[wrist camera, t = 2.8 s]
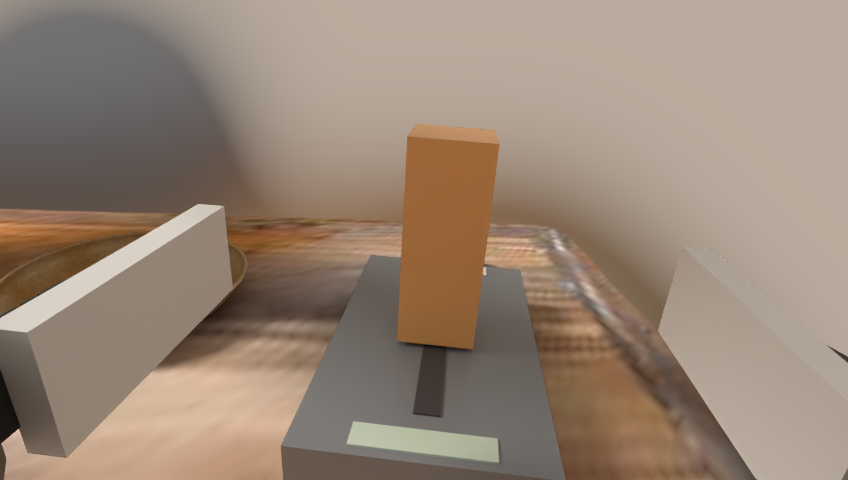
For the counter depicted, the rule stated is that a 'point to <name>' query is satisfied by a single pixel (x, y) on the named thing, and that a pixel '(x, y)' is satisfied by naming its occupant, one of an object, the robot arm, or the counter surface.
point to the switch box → (426, 395)
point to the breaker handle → (445, 233)
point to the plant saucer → (83, 268)
